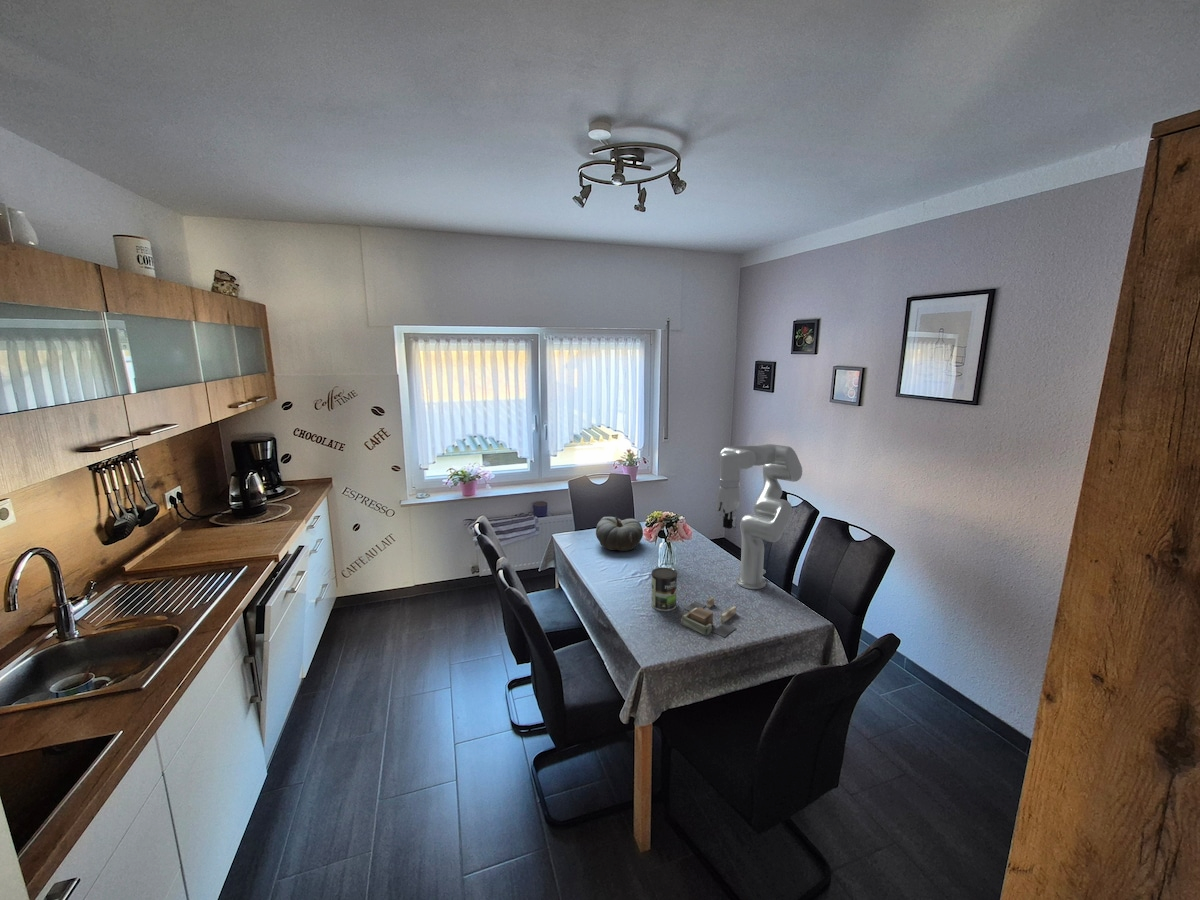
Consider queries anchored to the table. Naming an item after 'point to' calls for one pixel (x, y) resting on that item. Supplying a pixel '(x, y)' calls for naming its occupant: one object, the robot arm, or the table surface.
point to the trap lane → (721, 630)
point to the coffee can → (664, 589)
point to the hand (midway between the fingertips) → (727, 527)
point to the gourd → (619, 533)
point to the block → (702, 616)
